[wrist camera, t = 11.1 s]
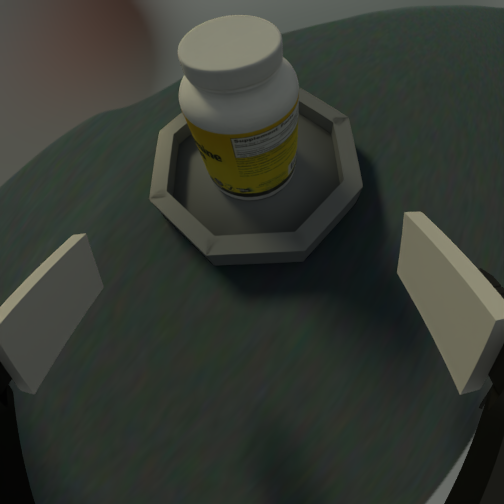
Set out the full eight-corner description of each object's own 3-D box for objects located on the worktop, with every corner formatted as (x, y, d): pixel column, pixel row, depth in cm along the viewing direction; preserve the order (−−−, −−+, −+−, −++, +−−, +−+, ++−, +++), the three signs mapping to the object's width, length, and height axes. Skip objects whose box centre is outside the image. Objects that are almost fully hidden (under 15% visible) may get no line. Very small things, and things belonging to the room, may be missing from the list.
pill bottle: (199, 147, 23) (152, 31, 13) (276, 121, 23) (267, -3, 13) (224, 217, 21) (173, 103, 11) (310, 186, 21) (325, 58, 11)
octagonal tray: (157, 267, 22) (143, 258, 20) (174, 112, 26) (166, 94, 24) (363, 258, 21) (372, 247, 18) (335, 99, 25) (338, 80, 22)
